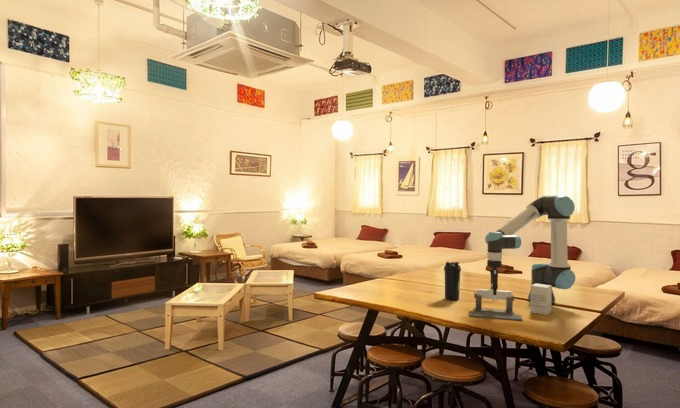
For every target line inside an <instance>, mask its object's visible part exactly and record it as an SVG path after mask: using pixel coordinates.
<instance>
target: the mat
mask: <svg viewBox="0 0 680 408" xmlns="http://www.w3.org/2000/svg"><path fill="white" fill-rule="evenodd" d="M468 314H469V315H468V316H469V317H470V318H481V319H492V320H493V319H495V320H504V321H505V320H507V321H517V322H518V321H519V322H523V321H524V320H523V318H522V315H521V314H515V313H514V314H507V313H495V312H482V311H474V310H468Z"/></svg>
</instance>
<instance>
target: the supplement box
mask: <svg viewBox="0 0 680 408" xmlns="http://www.w3.org/2000/svg"><path fill="white" fill-rule="evenodd" d="M530 290H531V301H530V309H529V310H530V313H532V314H537V313H538V314H539V315H545V316H548V315H550V314H551V313H552V303H551V295H552V290H553V287H552V286H551V285H544V284H537V283H535V284H533V285H532V284H531V285H530Z"/></svg>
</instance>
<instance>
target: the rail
mask: <svg viewBox="0 0 680 408" xmlns="http://www.w3.org/2000/svg"><path fill="white" fill-rule="evenodd" d="M512 292H513V291H512V290H501V289H497V301H498V300H499V301H500V300H501V301H506V300H507V298H512V294H513V293H512ZM476 294H477V295H478V296H482V299H485V300H486V299H487V300H492V290H491V289H485V288H476Z"/></svg>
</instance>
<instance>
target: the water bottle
mask: <svg viewBox="0 0 680 408" xmlns="http://www.w3.org/2000/svg"><path fill="white" fill-rule="evenodd" d="M443 270H444V271H443V272H444V300H446V301H453V302H454V301H455V302H456V301H459V300H460V290H461V289H460V286H461V271H462V267H461V266H460V262H459V261H452V262H450V261H446V262H445V265H444V267H443Z"/></svg>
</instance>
